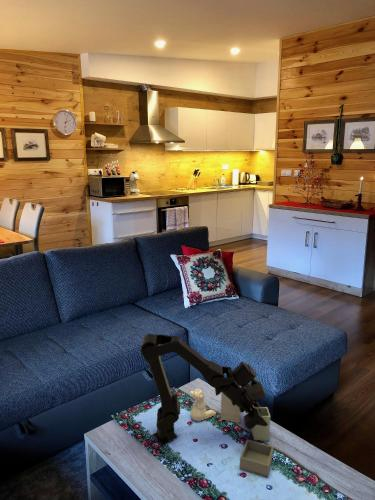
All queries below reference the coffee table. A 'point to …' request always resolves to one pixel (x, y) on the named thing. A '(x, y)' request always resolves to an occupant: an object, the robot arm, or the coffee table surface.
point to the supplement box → (229, 410)
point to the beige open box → (262, 431)
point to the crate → (256, 458)
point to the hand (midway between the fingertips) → (265, 420)
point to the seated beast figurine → (200, 406)
